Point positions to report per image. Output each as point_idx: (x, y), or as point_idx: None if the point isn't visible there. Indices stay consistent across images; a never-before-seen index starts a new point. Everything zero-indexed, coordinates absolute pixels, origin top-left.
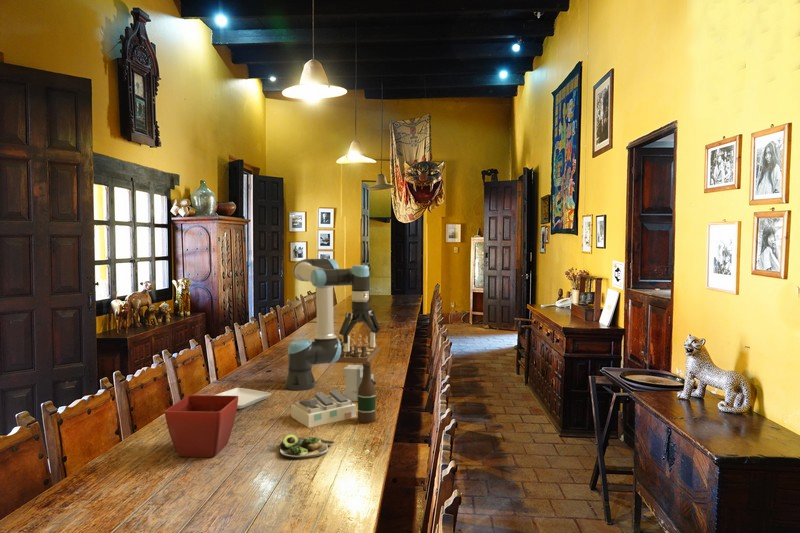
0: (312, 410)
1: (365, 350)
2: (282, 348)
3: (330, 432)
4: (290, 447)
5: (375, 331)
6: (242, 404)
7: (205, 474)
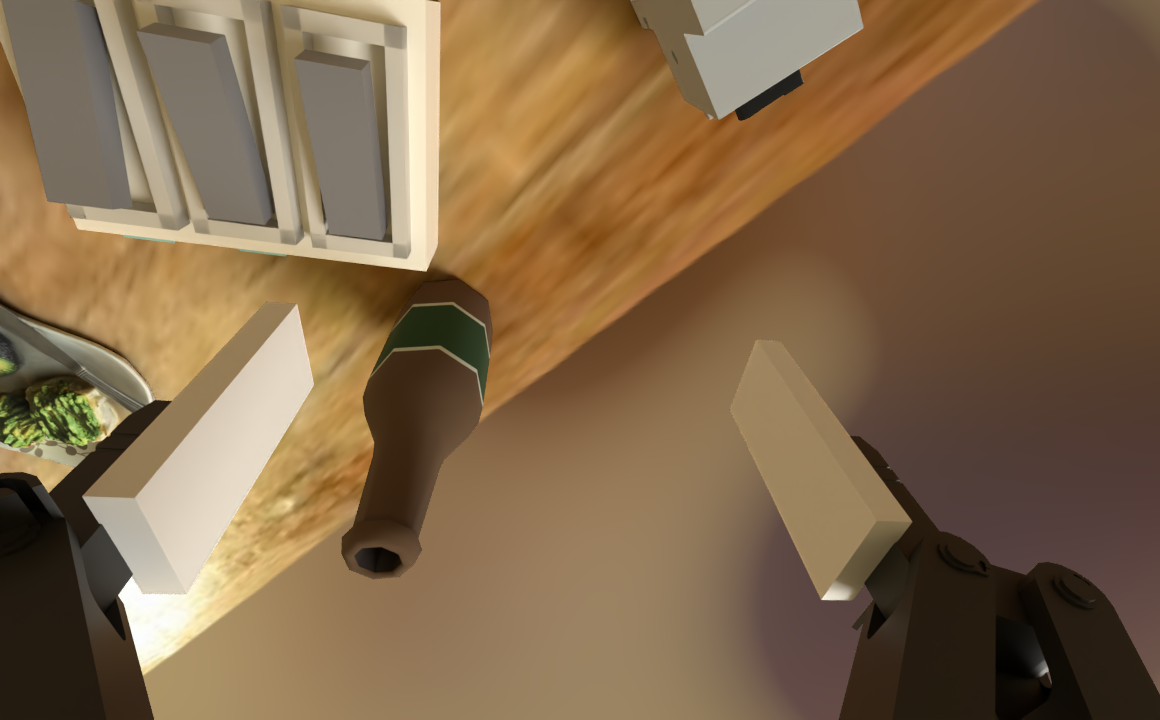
0: (98, 218)
1: None
2: None
3: (222, 322)
4: None
5: (878, 621)
6: None
7: None
